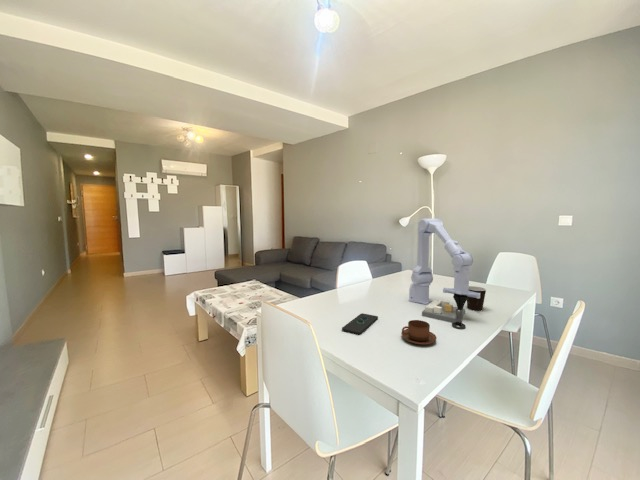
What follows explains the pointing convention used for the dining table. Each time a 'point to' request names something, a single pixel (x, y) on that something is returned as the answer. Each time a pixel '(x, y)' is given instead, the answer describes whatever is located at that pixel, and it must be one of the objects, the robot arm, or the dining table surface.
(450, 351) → the dining table surface
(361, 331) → the smart home device
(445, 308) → the block
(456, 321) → the black door knob
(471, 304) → the coffee mug
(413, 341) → the cup and saucer
